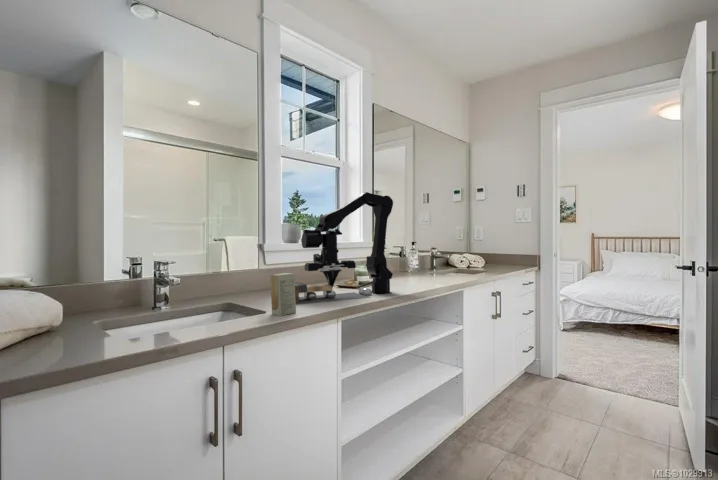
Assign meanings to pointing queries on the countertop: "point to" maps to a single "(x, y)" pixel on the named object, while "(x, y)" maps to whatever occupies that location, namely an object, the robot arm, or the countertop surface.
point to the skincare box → (283, 294)
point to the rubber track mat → (337, 298)
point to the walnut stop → (299, 290)
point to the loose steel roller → (310, 295)
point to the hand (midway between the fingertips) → (331, 288)
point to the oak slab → (319, 287)
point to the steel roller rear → (365, 291)
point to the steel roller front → (329, 294)
